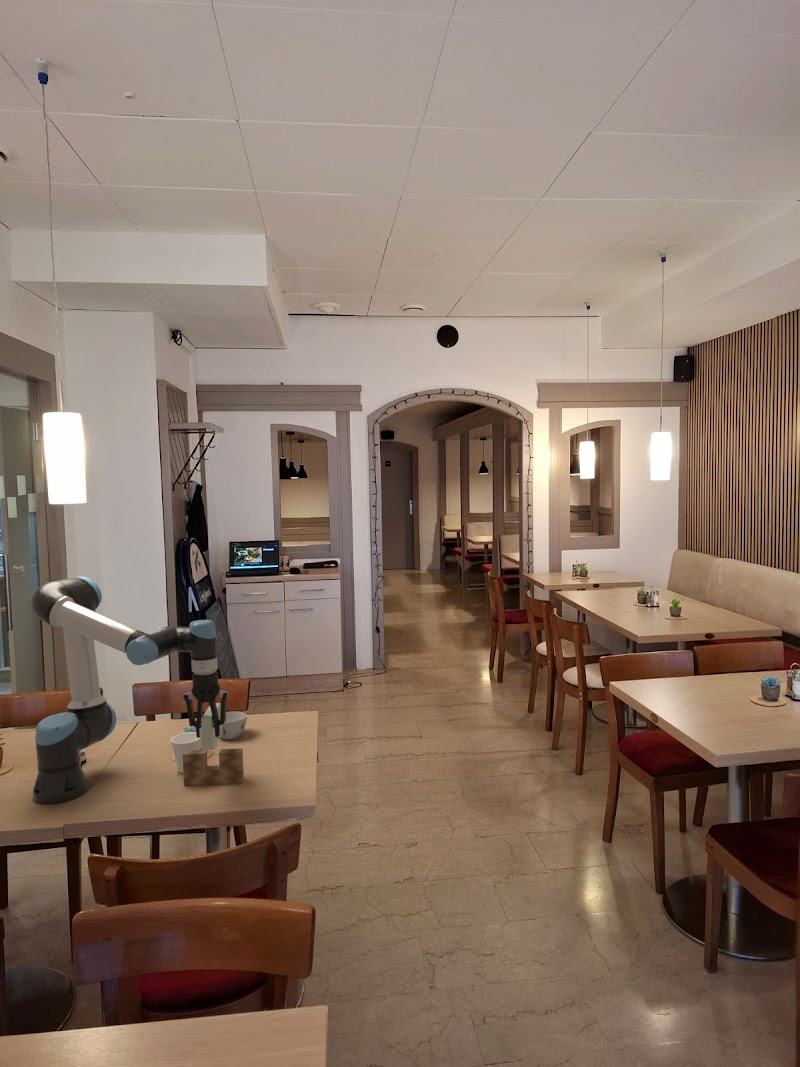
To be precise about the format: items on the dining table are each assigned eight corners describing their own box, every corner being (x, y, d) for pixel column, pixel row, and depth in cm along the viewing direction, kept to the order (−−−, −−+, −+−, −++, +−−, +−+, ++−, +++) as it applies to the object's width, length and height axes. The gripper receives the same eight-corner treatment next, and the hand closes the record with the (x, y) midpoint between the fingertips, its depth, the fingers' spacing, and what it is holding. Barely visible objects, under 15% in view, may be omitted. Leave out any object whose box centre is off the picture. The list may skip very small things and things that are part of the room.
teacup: (253, 732, 266) (252, 711, 265) (238, 744, 254) (237, 722, 253) (217, 729, 269) (216, 709, 269) (200, 741, 257) (199, 720, 257)
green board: (212, 749, 214) (211, 717, 213) (202, 750, 214) (201, 717, 213) (222, 733, 228) (220, 702, 227) (212, 733, 228) (211, 703, 227)
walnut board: (184, 785, 220) (182, 754, 219) (186, 781, 223) (184, 750, 222) (242, 783, 221) (240, 752, 220) (243, 779, 224) (242, 748, 223)
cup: (194, 777, 226) (192, 744, 225) (166, 775, 228) (164, 742, 227) (208, 765, 236) (207, 732, 235) (181, 763, 238) (180, 731, 237)
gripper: (174, 676, 209) (179, 753, 211) (229, 673, 210) (233, 750, 212) (181, 669, 217) (185, 743, 219) (234, 667, 218) (237, 741, 220)
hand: (208, 747), depth 215 cm, fingers closed on green board, 3 cm apart
